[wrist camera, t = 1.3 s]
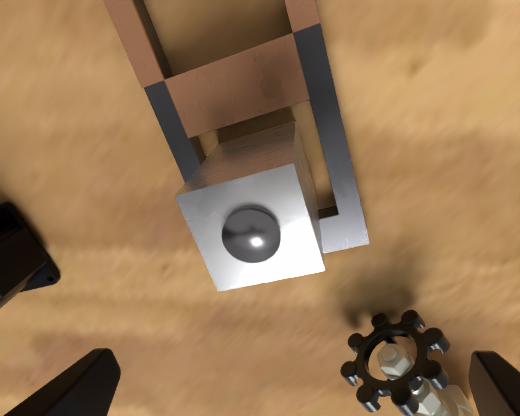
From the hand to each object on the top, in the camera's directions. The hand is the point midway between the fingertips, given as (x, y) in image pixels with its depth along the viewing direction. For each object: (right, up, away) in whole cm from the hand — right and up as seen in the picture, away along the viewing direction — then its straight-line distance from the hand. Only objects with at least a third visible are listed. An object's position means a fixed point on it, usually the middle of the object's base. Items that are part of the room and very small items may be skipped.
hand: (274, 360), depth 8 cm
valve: (+11, -8, +17) cm, 22 cm away
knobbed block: (0, +6, +11) cm, 13 cm away
